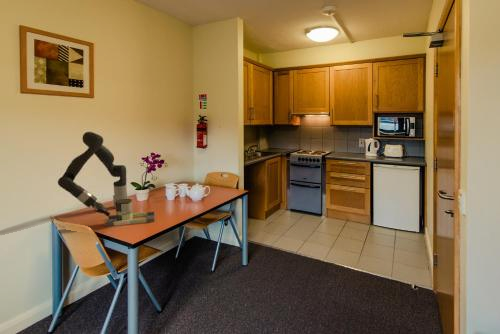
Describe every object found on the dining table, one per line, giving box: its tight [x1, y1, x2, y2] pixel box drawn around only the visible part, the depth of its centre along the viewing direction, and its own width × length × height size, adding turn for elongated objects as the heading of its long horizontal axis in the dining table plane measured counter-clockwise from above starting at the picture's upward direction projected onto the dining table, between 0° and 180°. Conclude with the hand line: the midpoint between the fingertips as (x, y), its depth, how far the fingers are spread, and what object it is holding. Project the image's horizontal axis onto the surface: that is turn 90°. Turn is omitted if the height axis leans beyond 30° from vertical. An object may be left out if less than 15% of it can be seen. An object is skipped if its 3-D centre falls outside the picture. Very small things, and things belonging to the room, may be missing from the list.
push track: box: [104, 211, 155, 227], centre depth 202 cm, size 30×16×2 cm, turn 108°
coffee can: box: [115, 198, 134, 221], centre depth 200 cm, size 10×10×14 cm
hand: (109, 215), depth 198 cm, fingers closed
